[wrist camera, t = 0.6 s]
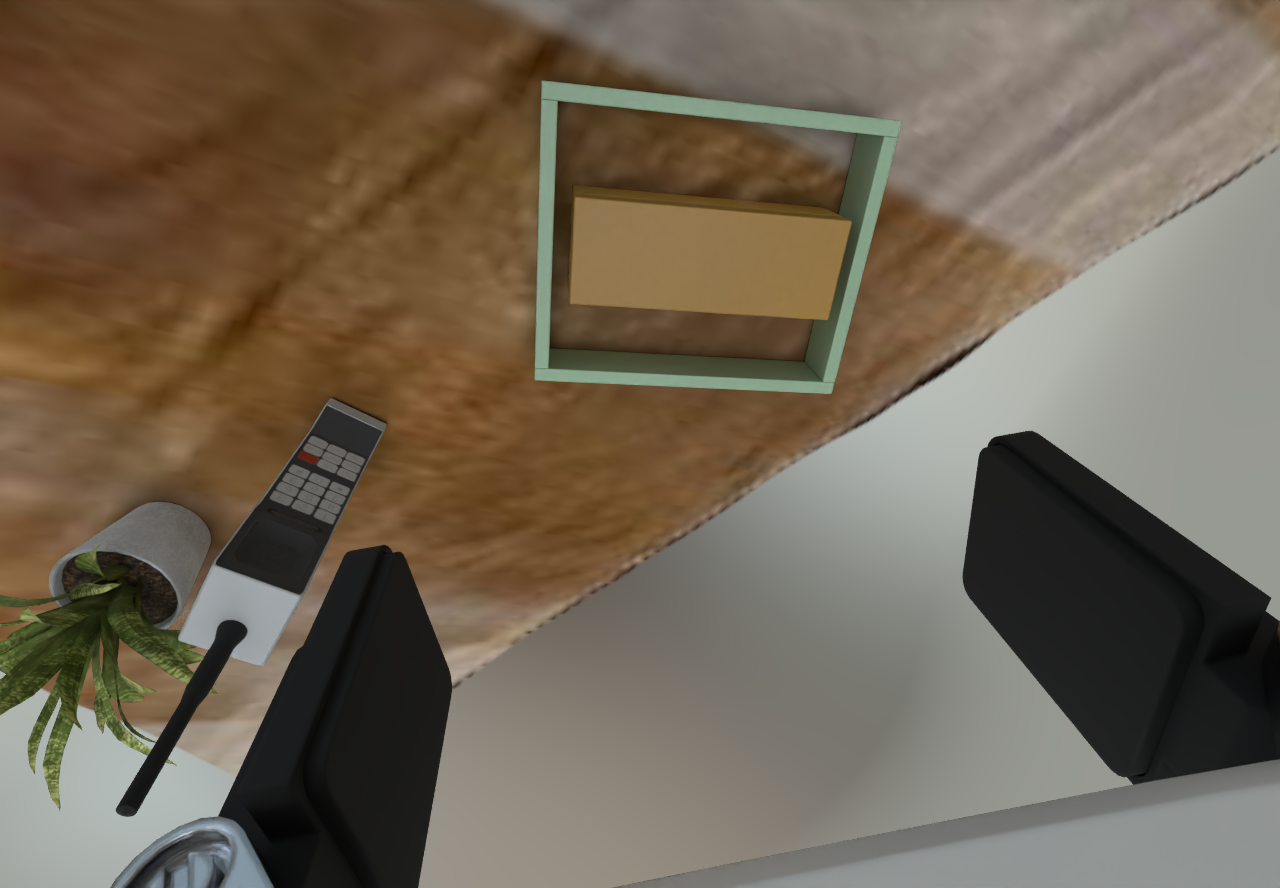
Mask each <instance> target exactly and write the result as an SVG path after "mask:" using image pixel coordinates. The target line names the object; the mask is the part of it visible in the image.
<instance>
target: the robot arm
mask: <svg viewBox="0 0 1280 888" xmlns="http://www.w3.org/2000/svg"><path fill="white" fill-rule="evenodd" d="M963 584H964V587H965V590H966V592H967V594H968V596H969V598H970V599H971V600H972V601H973V603H974V604H975V605H976V606H977V608H978V609H979V610H980V611H981V612H982V614H983V615H984V616H985V617H986V619H988V621H989V622H990V623H991V625H992V626H993V627H994V628H995V629H996V630H997V632H998V633H999V634H1000V635H1001V637H1002V638H1003V639H1004V640H1005V642H1006V643H1007V644H1008V645H1009V646H1010V648H1011V649H1012V650H1013V651H1014V652H1015V654H1016V655H1017V656H1018V657H1019V659H1020V660H1021V661H1022V662H1023V663H1024V665H1025V666H1026V667H1027V668H1028V670H1029V671H1030V672H1031V673H1032V675H1033V676H1034V677H1035V678H1036V679H1037V681H1038V682H1039V683H1040V684H1041V685H1042V687H1043V688H1044V689H1045V690H1046V692H1047V693H1048V694H1049V695H1050V696H1051V698H1052V699H1053V700H1054V701H1055V703H1056V704H1057V705H1058V706H1059V707H1060V709H1061V710H1062V711H1063V712H1064V714H1065V715H1066V716H1067V717H1068V718H1069V720H1070V721H1071V722H1072V723H1073V724H1074V726H1075V727H1076V728H1077V729H1078V730H1079V732H1080V733H1081V734H1082V735H1083V737H1084V738H1085V739H1086V740H1087V741H1088V743H1089V744H1090V745H1091V746H1092V748H1093V749H1094V750H1095V751H1096V752H1097V754H1098V755H1099V756H1100V757H1101V759H1102V760H1103V761H1104V762H1105V763H1106V765H1107V766H1108V767H1109V768H1110V769H1111V770H1112V771H1113V772H1114V773H1116V774H1117V775H1119V776H1122V777H1127V778H1128V779H1129V780H1130V781H1131V782H1132V784H1133V785H1131V786H1125V787H1120V788H1114V789H1110V790H1104V791H1099V792H1094V793H1088V794H1083V795H1078V796H1073V797H1068V798H1063V799H1057V800H1052V801H1047V802H1042V803H1037V804H1032V805H1026V806H1021V807H1016V808H1011V809H1006V810H1000V811H995V812H990V813H985V814H980V815H974V816H969V817H964V818H958V819H954V820H948V821H943V822H939V823H934V824H929V825H923V826H918V827H913V828H908V829H903V830H898V831H893V832H888V833H883V834H877V835H873V836H868V837H863V838H857V839H852V840H847V841H842V842H837V843H832V844H827V845H822V846H817V847H812V848H807V849H802V850H797V851H792V852H787V853H782V854H777V855H772V856H767V857H762V858H757V859H752V860H747V861H742V862H737V863H731V864H727V865H722V866H717V867H712V868H707V869H702V870H697V871H692V872H687V873H683V874H677V875H673V876H668V877H663V878H658V879H653V880H648V881H643V882H638V883H633V884H628V885H624V886H619V887H614V888H1280V621H1278V620H1277V619H1275V618H1274V617H1273V616H1271V615H1270V614H1269V613H1267V612H1266V609H1267V606H1268V604H1269V602H1270V600H1271V597H1269V596H1268V595H1266V594H1265V593H1264V592H1262V591H1261V590H1259V589H1258V588H1256V587H1255V586H1254V585H1252V584H1251V583H1249V582H1248V581H1247V580H1245V579H1244V578H1242V577H1241V576H1239V575H1238V574H1237V573H1235V572H1234V571H1232V570H1231V569H1230V568H1228V567H1227V566H1225V565H1224V564H1222V563H1221V562H1219V561H1218V560H1217V559H1215V558H1214V557H1212V556H1211V555H1210V554H1208V553H1207V552H1205V551H1204V550H1202V549H1201V548H1199V547H1198V546H1197V545H1195V544H1194V543H1193V542H1191V541H1190V540H1188V539H1187V538H1186V537H1184V536H1183V535H1181V534H1180V533H1178V532H1177V531H1176V530H1174V529H1173V528H1171V527H1169V526H1168V525H1167V524H1165V523H1164V522H1163V521H1161V520H1160V519H1158V518H1157V517H1156V516H1154V515H1153V514H1151V513H1150V512H1148V511H1147V510H1146V509H1144V508H1143V507H1141V506H1140V505H1139V504H1137V503H1136V502H1134V501H1133V500H1132V499H1130V498H1129V497H1127V496H1126V495H1124V494H1123V493H1122V492H1120V491H1119V490H1117V489H1116V488H1115V487H1113V486H1112V485H1110V484H1109V483H1107V482H1106V481H1105V480H1103V479H1102V478H1100V477H1099V476H1097V475H1096V474H1095V473H1093V472H1092V471H1090V470H1089V469H1087V468H1086V467H1085V466H1083V465H1082V464H1080V463H1079V462H1078V461H1076V460H1074V459H1073V458H1072V457H1070V456H1069V455H1068V454H1066V453H1065V452H1063V451H1062V450H1061V449H1059V448H1058V447H1056V446H1055V445H1053V444H1052V443H1051V442H1049V441H1048V440H1046V439H1045V438H1043V437H1042V436H1041V435H1039V434H1038V433H1035V432H1033V431H1025V432H1020V433H1014V434H1008V435H1003V436H998V437H994V438H993V439H991V441H990V442H989V444H988V447H987V448H984V449H982V450H981V452H980V455H979V459H978V467H977V474H976V481H975V488H974V496H973V503H972V510H971V518H970V525H969V532H968V539H967V547H966V554H965V562H964V569H963ZM451 692H452V682H451V675H450V671H449V668H448V666H447V663H446V660H445V658H444V655H443V653H442V650H441V648H440V645H439V643H438V640H437V637H436V635H435V632H434V630H433V627H432V625H431V622H430V620H429V617H428V615H427V612H426V609H425V607H424V604H423V602H422V599H421V597H420V594H419V592H418V589H417V586H416V584H415V581H414V579H413V576H412V574H411V571H410V569H409V566H408V564H407V561H406V559H405V557H404V555H403V554H402V553H401V552H395V553H392V551H391V549H390V548H389V547H388V546H386V545H381V546H376V547H370V548H364V549H359V550H353V551H349V552H347V553H346V555H345V556H344V558H343V560H342V562H341V564H340V567H339V569H338V571H337V573H336V575H335V578H334V580H333V582H332V584H331V586H330V589H329V591H328V593H327V595H326V597H325V599H324V602H323V604H322V606H321V608H320V610H319V613H318V615H317V617H316V619H315V621H314V624H313V626H312V628H311V630H310V632H309V634H308V637H307V639H306V641H305V643H304V645H303V646H302V647H301V648H299V649H298V650H297V651H296V653H295V654H294V656H293V658H292V659H291V661H290V664H289V666H288V668H287V670H286V672H285V674H284V676H283V679H282V681H281V683H280V685H279V687H278V689H277V691H276V694H275V696H274V698H273V700H272V702H271V704H270V706H269V709H268V711H267V713H266V715H265V717H264V719H263V721H262V724H261V726H260V728H259V730H258V732H257V734H256V736H255V739H254V741H253V743H252V745H251V747H250V749H249V751H248V754H247V756H246V758H245V760H244V762H243V764H242V766H241V769H240V771H239V773H238V775H237V777H236V779H235V782H234V784H233V786H232V788H231V790H230V792H229V794H228V797H227V799H226V801H225V803H224V805H223V807H222V809H221V811H220V814H219V816H218V817H210V818H201V819H198V820H195V821H193V822H190V823H187V824H185V825H182V826H179V827H177V828H176V829H174V830H172V831H171V832H169V833H167V834H166V835H164V836H162V837H161V838H159V839H157V840H156V841H155V842H153V843H152V844H151V845H150V846H149V847H147V848H146V849H145V850H144V851H143V852H141V853H140V854H139V855H138V856H136V857H135V858H134V860H132V862H131V863H130V864H129V865H128V866H127V867H126V868H125V869H124V870H123V872H122V873H121V874H120V875H119V876H118V877H117V878H116V880H115V881H114V883H113V884H112V886H111V888H418V885H419V878H420V873H421V867H422V861H423V856H424V850H425V844H426V838H427V833H428V827H429V821H430V815H431V810H432V803H433V798H434V792H435V787H436V780H437V775H438V769H439V764H440V758H441V752H442V746H443V740H444V735H445V729H446V723H447V717H448V712H449V706H450V700H451Z"/></svg>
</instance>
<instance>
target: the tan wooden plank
mask: <svg viewBox="0 0 1280 888" xmlns="http://www.w3.org/2000/svg"><path fill="white" fill-rule="evenodd" d="M851 224H852V221H851V220H849V219H847V218H844V217H843V216H841V215H838V214H836V213H834V212H832V211H830V210H828V209H825V208H823V207H812V206H801V205H790V204H779V203H768V202H756V201H745V200H734V199H723V198H712V197H701V196H690V195H679V194H667V193H656V192H645V191H634V190H623V189H612V188H601V187H590V186H578V185H573V186H572V208H571V229H570V251H569V272H568V290H569V303H570V304H578V305H594V306H610V307H625V308H641V309H657V310H673V311H689V312H705V313H720V314H736V315H752V316H768V317H784V318H799V319H815V320H828V319H829V314H830V310H831V306H832V302H833V298H834V294H835V290H836V285H837V281H838V277H839V273H840V269H841V265H842V261H843V257H844V252H845V248H846V244H847V240H848V236H849V232H850V228H851Z"/></svg>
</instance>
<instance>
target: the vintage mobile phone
mask: <svg viewBox="0 0 1280 888" xmlns="http://www.w3.org/2000/svg"><path fill="white" fill-rule="evenodd" d="M386 427H387V424H385V423H383V422H381V421H379V420H377V419H375V418H373V417H370V416H368V415H366V414H364V413H362V412H360V411H358V410H356V409H353V408H351V407H349V406H347V405H345V404H343V403H341V402H339V401H336V400H334V399H332V398H330V399H329V400H328V402H327V403H326V405H325V406H324V408H323V410H322V411H321V413H320V414H319V416H318V418H317V419H316V421H315V423H314V424H313V426H312V427H311V429H310V431H309V432H308V434H307V435H306V436H305V438H304V439H303V441H302V442H301V443H300V445H299V446H298V448H297V449H296V451H295V452H294V453H293V455H292V456H291V458H290V459H289V460H288V462H287V463H286V465H285V466H284V468H283V469H282V470H281V472H280V473H279V475H278V476H277V477H276V479H275V480H274V482H273V483H272V485H271V486H270V487H269V489H268V490H267V492H266V493H265V494H264V496H263V497H262V499H261V500H260V502H259V503H258V504H257V505H256V506H255V507H254V508H253V509H252V510H251V511H250V513H249V514H248V516H247V517H246V518H245V520H244V521H243V522H242V524H241V525H240V526H239V528H238V529H237V530H236V532H235V533H234V534H233V536H232V537H231V538H230V540H229V541H228V543H227V544H226V545H225V547H224V548H223V549H222V551H221V552H220V553H219V555H218V556H217V557H216V559H215V560H214V562H213V564H212V566H211V568H210V570H209V572H208V574H207V577H206V579H205V581H204V583H203V585H202V587H201V589H200V591H199V594H198V596H197V598H196V600H195V602H194V604H193V606H192V608H191V611H190V613H189V615H188V617H187V619H186V621H185V623H184V626H183V628H182V630H181V632H180V634H179V636H178V640H179V641H182V642H185V643H188V644H191V645H195V646H198V647H201V648H204V649H207V650H208V652H207V653H206V655H205V657H204V658H203V660H202V662H201V663H200V665H199V666H198V668H197V670H196V671H195V673H194V675H193V676H192V678H191V680H190V681H189V683H188V684H187V686H186V689H185V691H184V694H183V697H182V699H181V702H180V704H179V706H178V707H177V709H176V710H175V712H174V714H173V715H172V717H171V719H170V720H169V722H168V724H167V725H166V727H165V729H164V730H163V732H162V734H161V735H160V737H159V739H158V740H157V742H156V744H155V745H154V747H153V749H152V750H151V752H150V753H149V755H148V757H147V759H146V760H145V762H144V764H143V765H142V767H141V768H140V770H139V772H138V773H137V775H136V777H135V778H134V780H133V782H132V783H131V785H130V786H129V788H128V790H127V791H126V793H125V795H124V797H123V798H122V800H121V801H120V803H119V805H118V806H117V808H116V812H117V813H118V814H119V815H122V816H126V817H129V816H133V815H135V814H136V813H137V811H138V809H139V808H140V806H141V804H142V802H143V801H144V799H145V797H146V795H147V794H148V792H149V790H150V788H151V787H152V785H153V783H154V781H155V779H156V778H157V776H158V774H159V773H160V771H161V769H162V768H163V766H164V764H165V762H166V761H167V759H168V757H169V755H170V754H171V752H172V750H173V748H174V747H175V745H176V743H177V741H178V740H179V738H180V736H181V734H182V733H183V731H184V729H185V727H186V726H187V724H188V722H189V720H190V719H191V717H192V715H193V713H194V712H195V710H196V708H197V707H198V706H199V704H200V703H201V702H202V701H203V699H204V698H205V697H206V696H207V695H208V693H209V692H210V690H211V688H212V687H213V685H214V683H215V681H216V680H217V678H218V676H219V674H220V673H221V671H222V669H223V667H224V666H225V664H226V662H227V660H228V659H229V657H233V658H236V659H239V660H242V661H246V662H249V663H252V664H255V665H258V666H263V665H265V664H266V662H267V660H268V658H269V657H270V655H271V653H272V651H273V649H274V648H275V646H276V644H277V642H278V640H279V639H280V637H281V635H282V633H283V631H284V629H285V628H286V626H287V624H288V622H289V620H290V619H291V617H292V615H293V613H294V611H295V610H296V608H297V606H298V604H299V602H300V601H301V599H302V597H303V595H304V593H305V591H306V589H307V587H308V585H309V583H310V581H311V579H312V577H313V575H314V573H315V571H316V569H317V567H318V565H319V562H320V560H321V558H322V556H323V554H324V552H325V550H326V548H327V546H328V544H329V542H330V540H331V538H332V535H333V533H334V531H335V529H336V527H337V525H338V523H339V521H340V519H341V517H342V515H343V513H344V511H345V508H346V506H347V504H348V502H349V500H350V498H351V496H352V494H353V492H354V490H355V488H356V486H357V484H358V482H359V480H360V478H361V476H362V474H363V472H364V470H365V468H366V466H367V464H368V462H369V460H370V458H371V456H372V454H373V452H374V450H375V448H376V446H377V444H378V442H379V440H380V438H381V436H382V435H383V433H384V431H385V429H386Z"/></svg>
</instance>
